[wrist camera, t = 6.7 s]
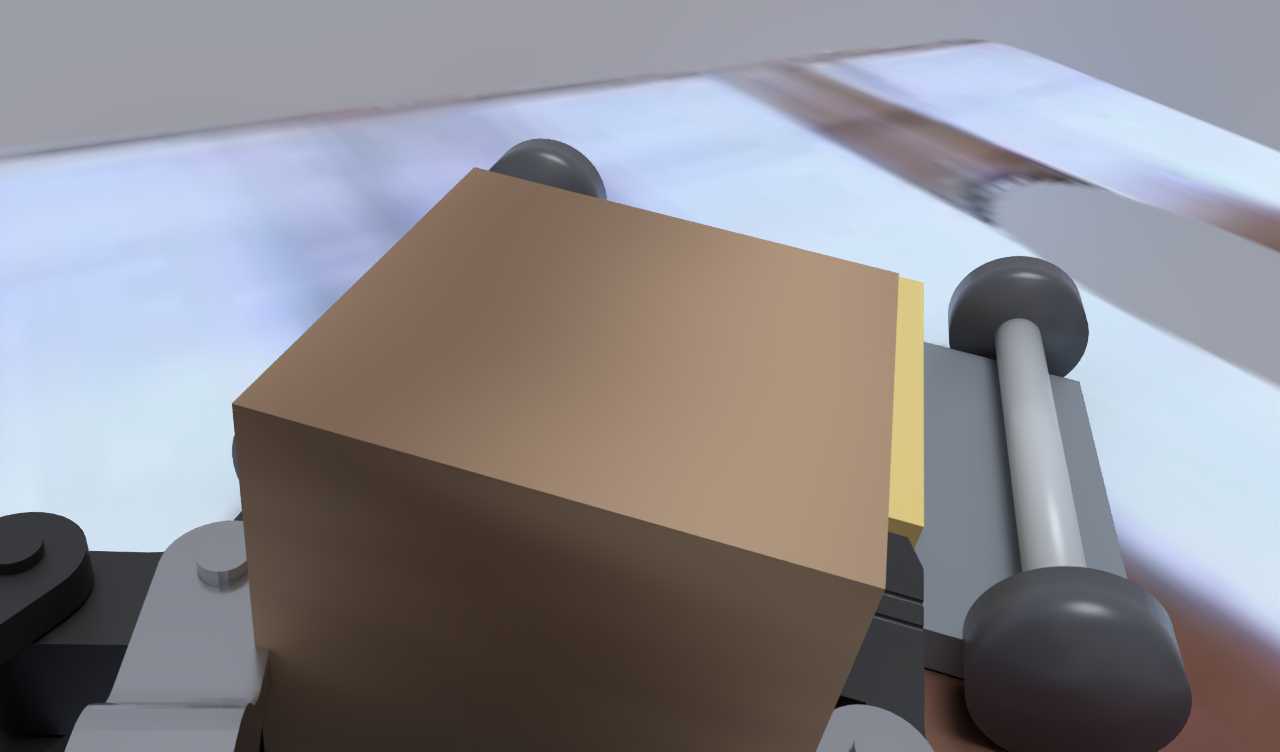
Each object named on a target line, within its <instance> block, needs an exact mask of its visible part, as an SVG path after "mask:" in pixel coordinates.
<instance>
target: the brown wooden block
mask: <svg viewBox="0 0 1280 752" xmlns="http://www.w3.org/2000/svg"><path fill="white" fill-rule="evenodd" d="M898 282H899V273H895V272H891V271H887V270H883V269H879V268H875V267H871V266H867V265H863V264H859V263H855V262H851V261H847V260H843V259H839V258H835V257H831V256H827V255H823V254H819V253H815V252H811V251H807V250H803V249H799V248H795V247H791V246H787V245H783V244H779V243H775V242H771V241H767V240H763V239H759V238H755V237H751V236H747V235H743V234H739V233H735V232H731V231H727V230H723V229H719V228H715V227H711V226H707V225H703V224H699V223H695V222H691V221H687V220H683V219H679V218H675V217H671V216H667V215H663V214H659V213H655V212H651V211H647V210H643V209H639V208H635V207H631V206H627V205H623V204H619V203H615V202H611V201H607V200H603V199H599V198H595V197H591V196H587V195H583V194H579V193H575V192H571V191H567V190H563V189H559V188H555V187H551V186H547V185H543V184H539V183H535V182H531V181H527V180H523V179H519V178H515V177H511V176H507V175H503V174H499V173H495V172H491V171H487V170H483V169H479V168H475V167H474V168H473V169H472V170H471V171H470V172H469V173H468V174H467V175H466V176H465V177H464V178H463V179H462V180H461V181H460V182H459V183H458V184H457V185H456V186H455V187H454V188H453V189H452V190H451V191H450V192H449V193H447V194H446V195H445V196H444V197H443V198H442V199H441V200H440V201H439V202H438V203H437V204H436V205H435V206H434V207H433V208H432V209H431V210H430V211H429V212H428V213H427V214H426V215H425V216H424V217H423V218H422V219H421V220H420V221H419V222H418V223H417V224H416V225H415V226H414V227H413V228H412V229H411V230H410V231H408V232H407V233H406V234H405V235H404V236H403V237H402V238H401V239H400V240H399V241H398V242H397V243H396V244H395V245H394V246H393V247H392V248H391V249H390V250H389V251H388V252H387V253H386V254H385V255H384V256H383V257H382V258H381V259H380V260H379V261H378V262H377V263H376V264H375V265H374V266H373V267H372V268H371V269H369V270H368V271H367V272H366V273H365V274H364V275H363V276H362V277H361V278H360V279H359V280H358V281H357V282H356V283H355V284H354V285H353V286H352V287H351V288H350V289H349V290H348V291H347V292H346V293H345V294H344V295H343V296H342V297H341V298H340V299H339V300H338V301H337V302H336V303H335V304H334V305H333V306H332V307H330V308H329V309H328V310H327V311H326V312H325V313H324V314H323V315H322V316H321V317H320V318H319V319H318V320H317V321H316V322H315V323H314V324H313V325H312V326H311V327H310V328H309V329H308V330H307V331H306V332H305V333H304V334H303V335H302V336H301V337H300V338H299V339H298V340H297V341H296V342H295V343H294V344H293V345H291V346H290V347H289V348H288V349H287V350H286V351H285V352H284V353H283V354H282V355H281V356H280V357H279V358H278V359H277V360H276V361H275V362H274V363H273V364H272V365H271V366H270V367H269V368H268V369H267V370H266V371H265V372H264V373H263V374H262V375H261V376H260V377H259V378H258V379H257V380H256V381H255V382H254V383H252V384H251V385H250V386H249V387H248V388H247V389H246V390H245V391H244V392H243V393H242V394H241V395H240V396H239V397H238V398H237V399H236V400H235V401H234V402H233V403H232V409H233V420H234V431H235V441H236V452H237V462H238V473H239V484H240V494H241V505H242V515H243V526H244V537H245V547H246V558H247V569H248V579H249V590H250V600H251V611H252V622H253V632H254V643H255V644H256V645H259V646H262V647H266V648H269V649H270V659H271V672H272V684H271V688H270V693H269V698H268V702H267V707H266V712H265V716H264V721H263V726H262V728H263V738H264V749H265V752H816V750H817V748H818V746H819V743H820V741H821V739H822V736H823V734H824V732H825V729H826V727H827V725H828V722H829V720H830V718H831V715H832V713H833V710H834V708H835V706H836V703H837V701H838V699H839V696H840V694H841V692H842V689H843V687H844V685H845V682H846V680H847V678H848V675H849V673H850V671H851V668H852V666H853V664H854V661H855V659H856V657H857V654H858V652H859V650H860V647H861V645H862V643H863V640H864V638H865V636H866V633H867V631H868V629H869V626H870V624H871V622H872V619H873V617H874V615H875V612H876V610H877V608H878V605H879V603H880V601H881V598H882V596H883V594H884V591H885V586H886V563H887V539H888V516H889V493H890V469H891V446H892V423H893V399H894V376H895V353H896V329H897V306H898Z"/></svg>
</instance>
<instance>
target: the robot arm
mask: <svg viewBox="0 0 1280 752" xmlns="http://www.w3.org/2000/svg"><path fill="white" fill-rule="evenodd" d="M923 601H924V568H923V566H922V564H921V562H920V560H919V558H918V556H917V554H916V552H915V550H914V548H913V546H912V544H911V542H910V540H909V538H908V537H905V536H902V535H898V534H895V533H891V532H888V539H887V563H886V586H885V591H884V594H883V596H882V598H881V601H880V603H879V605H878V608H877V610H876V612H875V615H874V617H873V619H872V622H871V624H870V626H869V629H868V631H867V633H866V636H865V638H864V640H863V643H862V645H861V647H860V650H859V652H858V654H857V657H856V659H855V661H854V664H853V666H852V668H851V671H850V673H849V675H848V678H847V680H846V682H845V685H844V687H843V689H842V692H841V694H840V696H839V699H838V701H837V703H836V706H835V708H834V710H833V713H832V715H831V718H830V720H829V722H828V725H827V727H826V729H825V732H824V734H823V736H822V739H821V741H820V743H819V746H818V748H817V750H816V752H934V751H933V749H932V748H931V746H930V745H929V743H928V742H927V740H926V737H925V728H924V632H923V627H924V607H923ZM271 684H272V672H271V659H270V649H269V648H266V647H262V646H259V645H256V644H255V643H254V632H253V622H252V611H251V600H250V590H249V579H248V569H247V558H246V547H245V537H244V526H243V515H242V511H241V513H240V514H239V515H238V516H237V517H236V518H235V520H234V521H222V522H215V523H211V524H207V525H203V526H201V527H198V528H196V529H193V530H191V531H189V532H187V533H185V534H184V535H182V536H181V537H179V538H178V539H176V540H175V541H174V542H173V543H172V544H171V545H170V546H169V547H168V548H167V549H166V551H165V552H149V553H146V552H109V551H89V550H88V545H87V541H86V537H85V535H84V532H83V531H82V529H81V528H80V527H79V526H78V525H77V524H76V523H74V522H73V521H72V520H70V519H67V518H65V517H63V516H60V515H56V514H51V513H44V512H27V513H17V514H12V515H7V516H3V517H0V752H265V749H264V738H263V728H262V726H263V721H264V716H265V712H266V707H267V702H268V698H269V693H270V688H271Z"/></svg>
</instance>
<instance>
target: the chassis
mask: <svg viewBox="0 0 1280 752" xmlns="http://www.w3.org/2000/svg"><path fill="white" fill-rule="evenodd" d="M489 171H491V172H495V173H499V174H503V175H507V176H511V177H515V178H519V179H523V180H527V181H531V182H535V183H539V184H543V185H547V186H551V187H555V188H559V189H563V190H567V191H571V192H575V193H579V194H583V195H587V196H591V197H595V198H599V199H603V200H607V196H606V191H605V187H604V184H603V181H602V179H601V177H600V175H599V173H598V171H597V170H596V168H595V167H594V166H593V164H592V163H591V162H590V161H589V160H588V159H587V158H586V157H585V156H584V155H583V154H582V153H580V152H579V151H578V150H576V149H574V148H573V147H571V146H569V145H567V144H565V143H562V142H559V141H556V140H550V139H532V140H528V141H524V142H522V143H519V144H517V145H516V146H514V147H512V148H511V149H510V150H509V151H507V152H506V153H505V154H504V155H503V156H502V157H501V158H500V159H499V160H498V161H497V162H496V164H495V165H494V166H493V167H492V168H491V169H490V170H489ZM948 325H949V344H950V348H946V347H942V346H938V345H934V344H930V343H926V342H924V332H923V283H922V282H918V281H914V280H910V279H906V278H902V277H899V282H898V306H897V329H896V353H895V376H894V399H893V423H892V446H891V469H890V493H889V516H888V532H891V533H895V534H898V535H902V536H905V537H908V538H909V540H910V542H911V544H912V546H913V548H914V550H915V552H916V554H917V556H918V558H919V560H920V562H921V564H922V566H923V568H924V601H923V607H924V627H923V632H924V667H925V668H929V669H932V670H936V671H939V672H943V673H946V674H950V675H953V676H956V677H960V678H963V679H964V685H965V700H966V705H967V708H968V711H969V713H970V716H971V717H972V719H973V721H974V722H975V724H976V725H977V726H978V728H979V729H980V730H981V731H982V732H983V733H984V734H985V735H986V736H987V737H988V738H989V739H990V740H992V741H993V742H994V743H996V744H997V745H999V746H1000V747H1002V748H1003V749H1005V750H1007V751H1009V752H1157V751H1159V750H1160V749H1162V748H1164V747H1165V746H1166V745H1168V744H1169V743H1170V742H1171V741H1172V740H1174V739H1175V737H1176V736H1177V735H1178V734H1179V733H1180V732H1181V731H1182V729H1183V727H1184V726H1185V724H1186V723H1187V720H1188V717H1189V715H1190V711H1191V705H1192V698H1191V691H1190V687H1189V683H1188V680H1187V676H1186V672H1185V669H1184V665H1183V662H1182V658H1181V655H1180V651H1179V647H1178V644H1177V640H1176V637H1175V633H1174V630H1173V626H1172V622H1171V620H1170V618H1169V616H1168V614H1167V612H1166V611H1165V609H1164V608H1163V606H1162V605H1161V604H1160V603H1159V602H1158V601H1157V600H1156V598H1155V597H1154V596H1153V595H1151V594H1150V593H1149V592H1147V591H1146V590H1145V589H1144V588H1142V587H1140V586H1139V585H1137V584H1135V583H1134V582H1132V581H1130V580H1128V579H1127V576H1126V572H1125V568H1124V564H1123V560H1122V556H1121V551H1120V547H1119V543H1118V539H1117V535H1116V531H1115V527H1114V522H1113V518H1112V514H1111V510H1110V506H1109V502H1108V498H1107V494H1106V489H1105V485H1104V481H1103V477H1102V473H1101V469H1100V465H1099V460H1098V456H1097V452H1096V448H1095V444H1094V440H1093V436H1092V432H1091V427H1090V423H1089V419H1088V415H1087V411H1086V407H1085V403H1084V398H1083V394H1082V390H1081V386H1080V382H1079V381H1075V380H1071V379H1067V378H1063V377H1064V376H1066V375H1067V374H1068V373H1069V372H1070V371H1071V370H1072V369H1073V368H1074V367H1075V366H1076V365H1077V364H1078V362H1079V361H1080V359H1081V358H1082V356H1083V354H1084V352H1085V349H1086V346H1087V342H1088V335H1089V330H1088V322H1087V319H1086V315H1085V311H1084V308H1083V304H1082V301H1081V297H1080V294H1079V291H1078V289H1077V287H1076V285H1075V283H1074V282H1073V280H1072V279H1071V278H1070V277H1069V276H1068V275H1067V274H1066V273H1065V272H1064V271H1063V270H1062V269H1060V268H1059V267H1057V266H1055V265H1054V264H1052V263H1049V262H1047V261H1045V260H1041V259H1038V258H1033V257H1025V256H1012V257H1005V258H1000V259H996V260H993V261H990V262H988V263H985V264H983V265H982V266H980V267H978V268H976V269H975V270H973V271H972V272H971V273H969V274H968V275H967V276H966V277H965V278H964V279H963V280H962V281H961V282H960V284H959V285H958V286H957V288H956V289H955V291H954V293H953V295H952V297H951V301H950V304H949V310H948ZM232 457H233V463H234V468H235V471H236V474H237V477H238V479H239V473H238V462H237V452H236V441H235V435H234V438H233V445H232Z"/></svg>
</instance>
